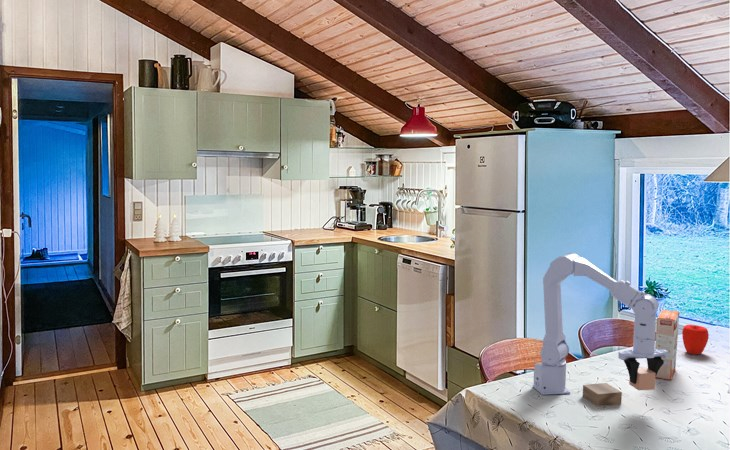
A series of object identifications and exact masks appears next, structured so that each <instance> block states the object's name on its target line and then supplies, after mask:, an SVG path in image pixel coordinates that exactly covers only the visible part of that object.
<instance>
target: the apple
mask: <svg viewBox="0 0 730 450" xmlns="http://www.w3.org/2000/svg"><path fill="white" fill-rule="evenodd" d="M681 333H682V334H681V335H682V342H683V346H684V349H685V351H686V353H688V354H691V355H695V354H699V355H700V354H703V352H704V350H705V348H706V346H707V344H708V341H709V338H710V337H709V336H710V335H709V331H708V329H707V328H706V327H704V326H701V325H697V324H696V325H695V324H686V325H684V326H683V327H682V331H681Z"/></svg>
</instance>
